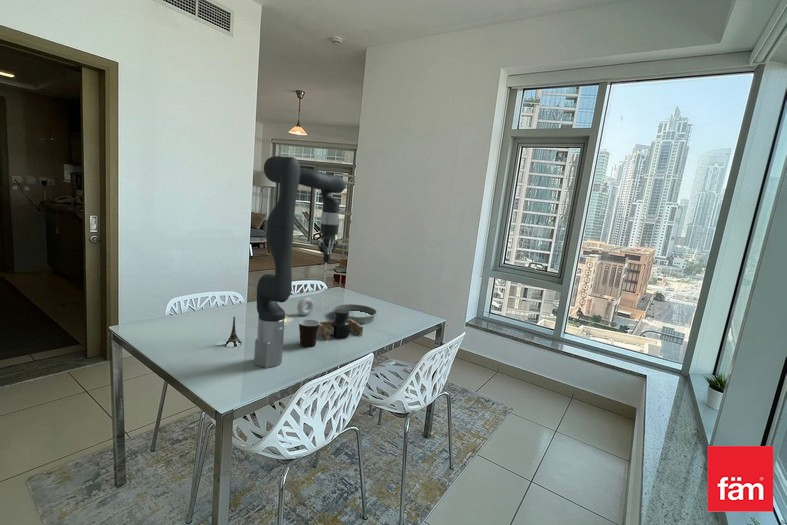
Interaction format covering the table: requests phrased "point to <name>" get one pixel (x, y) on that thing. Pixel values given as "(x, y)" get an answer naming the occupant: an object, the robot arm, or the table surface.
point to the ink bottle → (340, 324)
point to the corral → (326, 327)
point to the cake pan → (358, 308)
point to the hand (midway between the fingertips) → (326, 262)
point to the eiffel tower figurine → (233, 335)
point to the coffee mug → (308, 332)
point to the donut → (309, 308)
